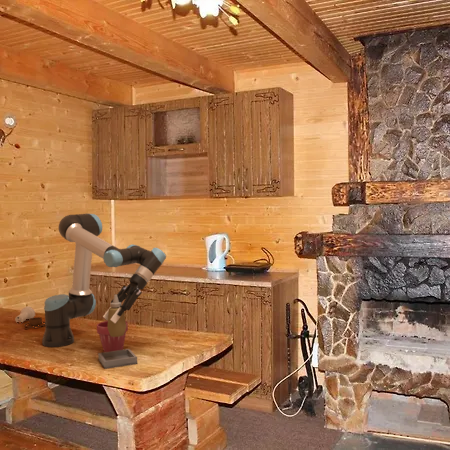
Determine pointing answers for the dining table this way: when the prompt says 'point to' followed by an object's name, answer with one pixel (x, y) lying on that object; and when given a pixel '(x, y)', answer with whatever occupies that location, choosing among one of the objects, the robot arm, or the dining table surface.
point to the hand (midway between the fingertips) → (109, 320)
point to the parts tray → (117, 358)
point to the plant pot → (110, 338)
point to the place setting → (35, 322)
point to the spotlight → (25, 314)
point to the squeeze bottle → (120, 325)
